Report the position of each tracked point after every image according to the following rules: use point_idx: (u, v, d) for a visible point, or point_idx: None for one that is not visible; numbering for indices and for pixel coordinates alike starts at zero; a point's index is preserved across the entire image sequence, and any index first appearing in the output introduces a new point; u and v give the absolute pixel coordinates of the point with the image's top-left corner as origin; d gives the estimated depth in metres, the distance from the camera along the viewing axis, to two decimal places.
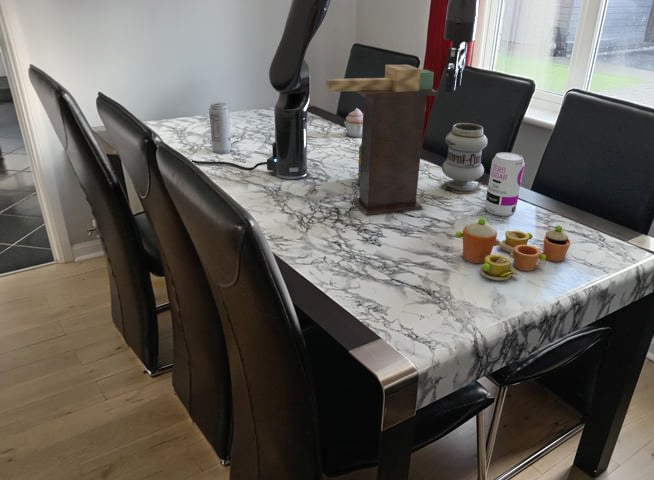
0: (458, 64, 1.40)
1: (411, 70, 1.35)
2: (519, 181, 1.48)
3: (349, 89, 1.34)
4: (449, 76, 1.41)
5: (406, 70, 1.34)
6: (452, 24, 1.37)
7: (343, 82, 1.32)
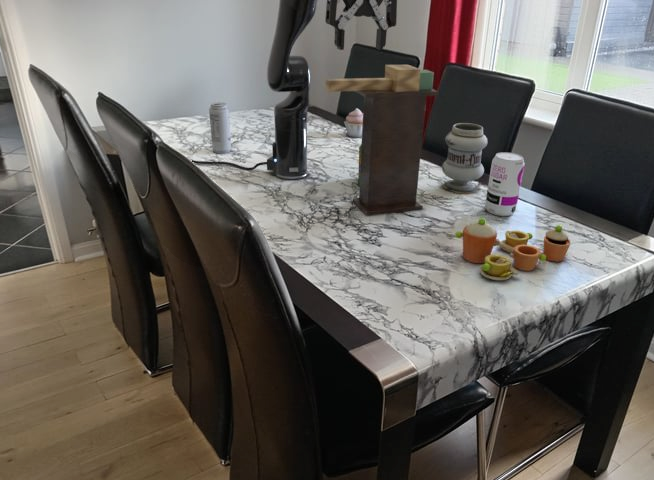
0: (345, 14, 1.11)
1: (411, 70, 1.35)
2: (519, 181, 1.48)
3: (349, 89, 1.34)
4: None
5: (406, 70, 1.34)
6: None
7: (343, 82, 1.32)
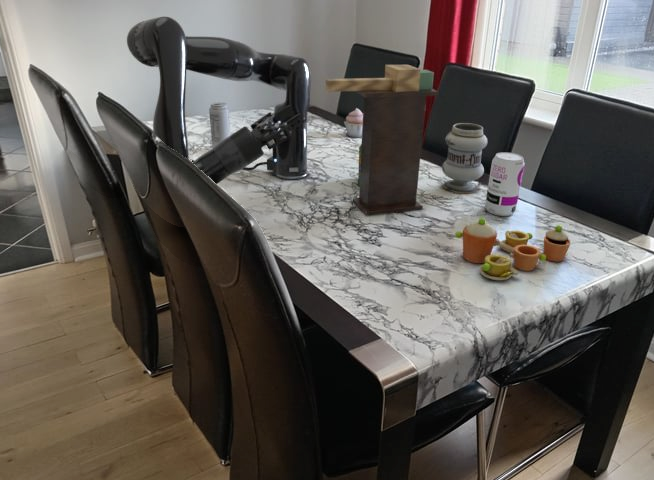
0: None
1: (411, 70, 1.35)
2: (519, 181, 1.48)
3: (349, 89, 1.34)
4: None
5: (406, 70, 1.34)
6: None
7: (343, 82, 1.32)
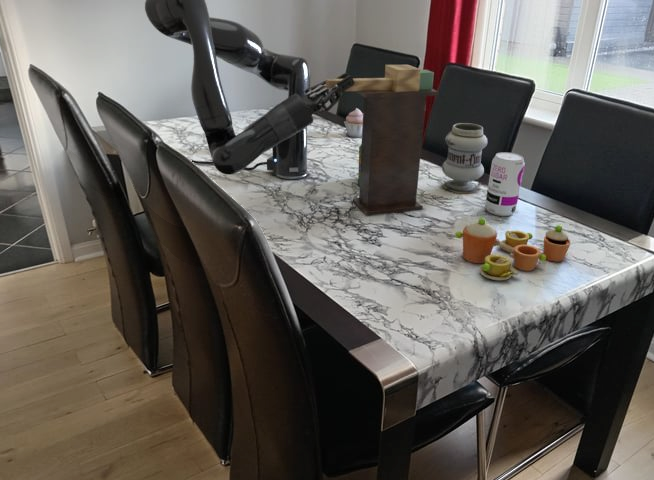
0: None
1: (411, 70, 1.35)
2: (519, 181, 1.48)
3: (349, 89, 1.34)
4: None
5: (406, 70, 1.34)
6: None
7: None
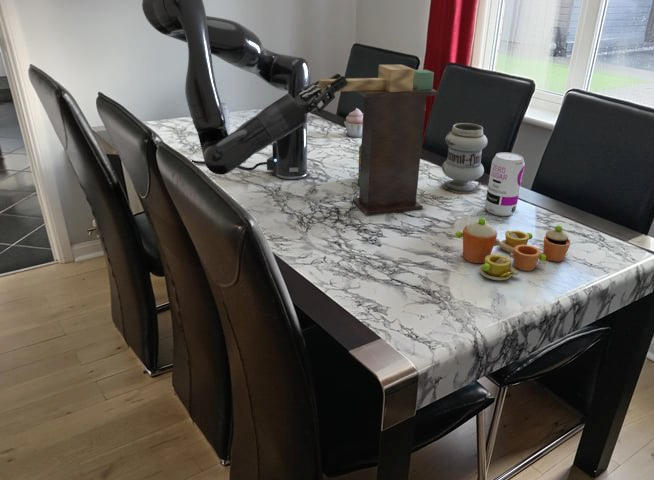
0: None
1: (404, 70, 1.34)
2: (519, 181, 1.48)
3: (342, 89, 1.33)
4: None
5: (399, 70, 1.34)
6: None
7: None
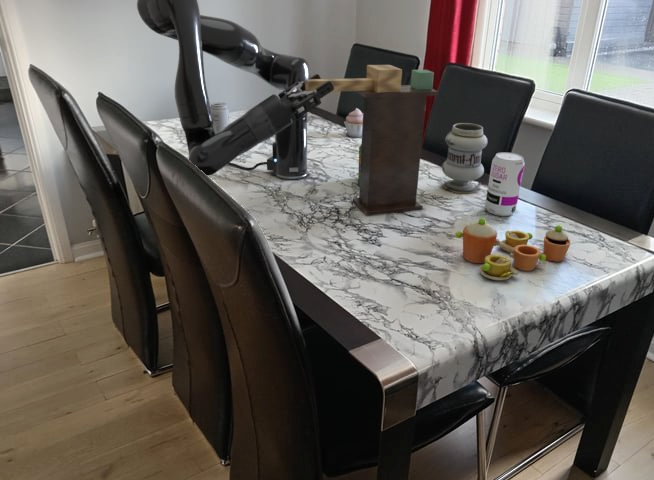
0: None
1: (392, 70, 1.33)
2: (519, 181, 1.48)
3: None
4: None
5: (387, 70, 1.33)
6: None
7: (323, 83, 1.30)
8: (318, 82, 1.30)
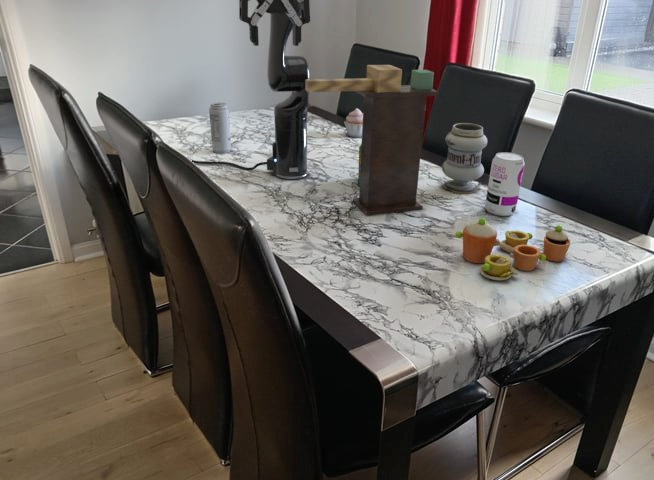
0: (257, 11, 1.15)
1: (392, 70, 1.33)
2: (519, 181, 1.48)
3: (329, 90, 1.32)
4: (249, 25, 1.17)
5: (387, 70, 1.33)
6: None
7: (323, 83, 1.30)
8: (318, 82, 1.30)
